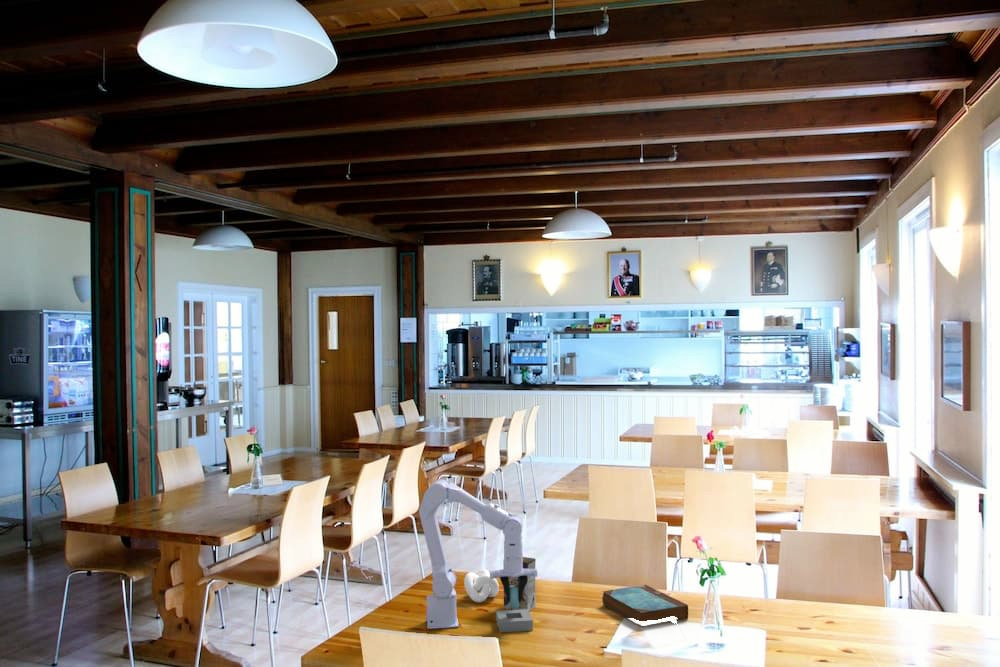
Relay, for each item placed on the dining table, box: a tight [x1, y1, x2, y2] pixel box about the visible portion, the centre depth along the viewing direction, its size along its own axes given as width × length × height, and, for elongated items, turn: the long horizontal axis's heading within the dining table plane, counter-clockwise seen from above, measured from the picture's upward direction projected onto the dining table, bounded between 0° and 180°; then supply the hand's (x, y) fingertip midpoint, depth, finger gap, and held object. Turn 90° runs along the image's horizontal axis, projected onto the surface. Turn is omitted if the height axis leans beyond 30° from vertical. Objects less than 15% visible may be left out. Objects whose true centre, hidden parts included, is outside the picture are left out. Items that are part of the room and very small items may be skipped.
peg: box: [509, 585, 519, 608], centre depth 240 cm, size 3×3×6 cm
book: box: [601, 584, 689, 621], centre depth 250 cm, size 23×18×5 cm
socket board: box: [495, 609, 534, 633], centre depth 240 cm, size 10×10×3 cm
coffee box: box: [503, 556, 537, 612], centre depth 256 cm, size 9×6×16 cm
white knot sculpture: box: [463, 568, 500, 603], centre depth 266 cm, size 11×12×9 cm
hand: (513, 600), depth 240 cm, fingers closed on peg, 3 cm apart
